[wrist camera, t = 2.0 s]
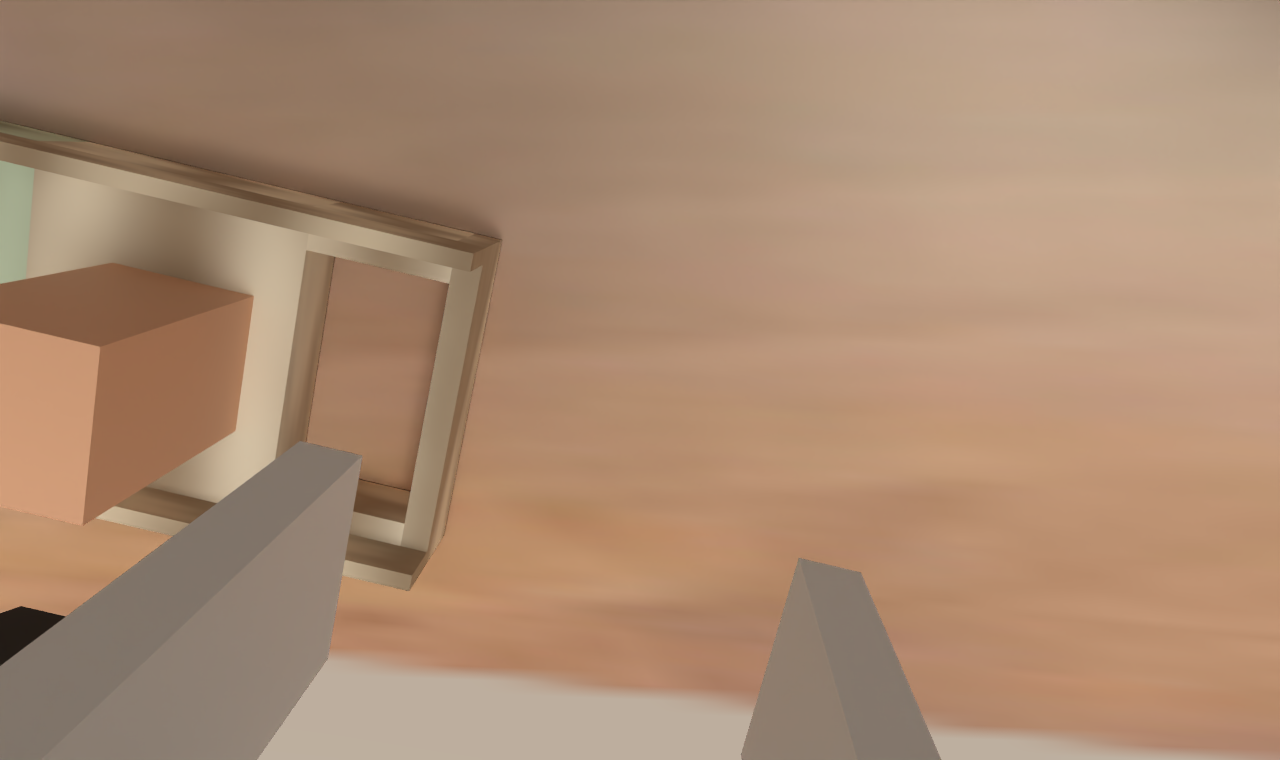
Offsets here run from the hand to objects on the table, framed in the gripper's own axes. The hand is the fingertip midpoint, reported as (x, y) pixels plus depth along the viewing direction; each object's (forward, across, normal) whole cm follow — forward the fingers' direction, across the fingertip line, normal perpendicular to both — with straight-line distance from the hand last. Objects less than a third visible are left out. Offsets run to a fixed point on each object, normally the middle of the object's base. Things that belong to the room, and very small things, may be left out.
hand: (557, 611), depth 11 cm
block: (+22, -16, -5) cm, 27 cm away
